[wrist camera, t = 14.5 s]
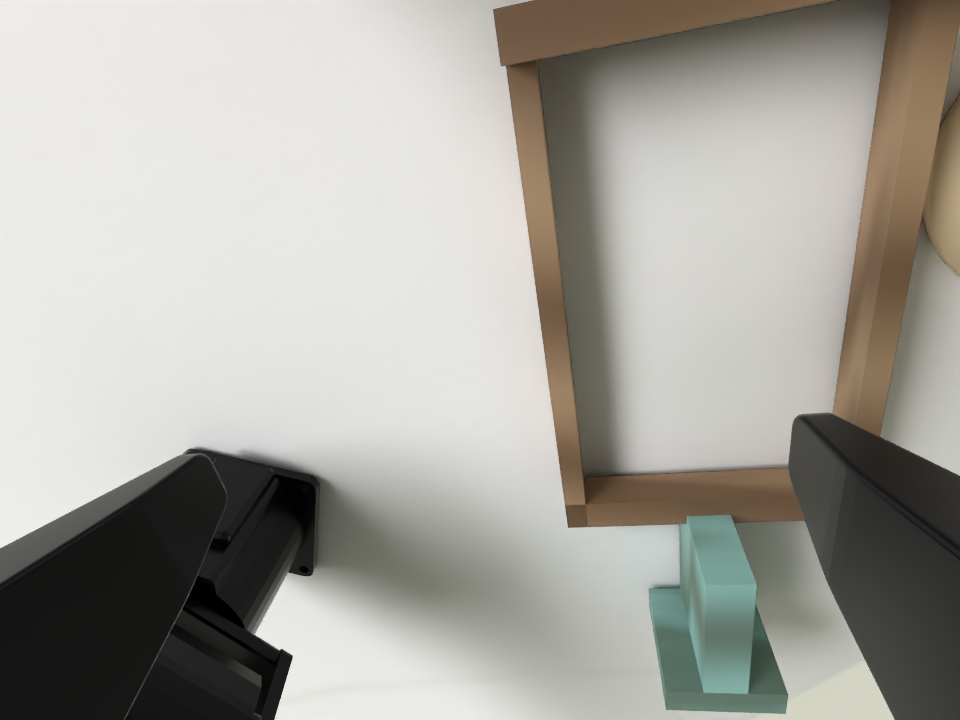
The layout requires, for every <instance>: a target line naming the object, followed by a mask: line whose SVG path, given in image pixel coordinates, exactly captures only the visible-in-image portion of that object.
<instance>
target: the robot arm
mask: <svg viewBox="0 0 960 720" xmlns="http://www.w3.org/2000/svg"><path fill="white" fill-rule="evenodd" d="M788 466H789V475H790V479H791V483H792V485H793V488H794V491H795V494H796V497H797V500H798V502H799V505H800V508H801V511H802V514H803V516H804V519H805V522H806V525H807V528H808V530H809V533H810V536H811V539H812V542H813V544H814V547H815V550H816V553H817V556H818V558H819V561H820V564H821V567H822V569H823V572H824V575H825V577H826V580H827V582H828V585H829V587H830V589H831V591H832V593H833V595H834V598H835V600H836V602H837V604H838V606H839V608H840V610H841V612H842V614H843V616H844V618H845V620H846V622H847V624H848V626H849V628H850V630H851V632H852V634H853V636H854V638H855V640H856V642H857V644H858V646H859V648H860V650H861V652H862V654H863V656H864V659H865V661H866V663H867V665H868V667H869V668H870V671H871V673H872V675H873V677H874V678H875V681H876V683H877V685H878V687H879V689H880V691H881V693H882V695H883V697H884V699H885V701H886V703H887V705H888V707H889V709H890V711H891V713H892V715H893V717H894V719H895V720H960V476H959V475H957V474H955V473H953V472H951V471H949V470H947V469H945V468H943V467H940V466H938V465H936V464H934V463H932V462H930V461H928V460H926V459H924V458H922V457H920V456H918V455H916V454H914V453H912V452H910V451H908V450H906V449H904V448H902V447H900V446H897V445H895V444H893V443H891V442H889V441H887V440H885V439H883V438H881V437H879V436H877V435H875V434H873V433H871V432H869V431H867V430H865V429H863V428H861V427H859V426H857V425H854V424H852V423H850V422H848V421H846V420H844V419H842V418H840V417H838V416H836V415H834V414H831V413H814V414H801V415H798V416H797V417H796V418H795V419H794V422H793V425H792V434H791V444H790V453H789V464H788ZM305 485H307V486H309V487H310V488H309V487H307V486H305ZM318 510H319V482H318V481H317V479H315V478H314V477H312V476H310V475H306V474H301V473H297V472H293V471H288V470H284V469H280V468H275V467H271V466H266V465H262V464H258V463H253V462H249V461H245V460H240V459H236V458H231V457H227V456H223V455H218V454H214V453H210V452H205V451H201V450H197V449H188V450H187V451H186V452H185V453H184V454H183V455H180V456H177V457H175V458H173V459H171V460H169V461H167V462H166V463H164V464H162V465H160V466H158V467H156V468H154V469H152V470H150V471H148V472H146V473H144V474H143V475H141V476H139V477H137V478H135V479H133V480H131V481H129V482H127V483H125V484H123V485H121V486H119V487H118V488H116V489H114V490H112V491H110V492H108V493H106V494H104V495H102V496H100V497H98V498H96V499H94V500H93V501H91V502H89V503H87V504H85V505H83V506H81V507H79V508H77V509H75V510H73V511H71V512H69V513H68V514H66V515H64V516H62V517H60V518H58V519H56V520H54V521H52V522H50V523H48V524H46V525H44V526H43V527H41V528H39V529H37V530H35V531H33V532H31V533H29V534H27V535H25V536H23V537H21V538H20V539H18V540H16V541H14V542H12V543H10V544H8V545H6V546H4V547H2V548H0V720H274V718H275V715H276V712H277V708H278V705H279V702H280V698H281V695H282V691H283V688H284V685H285V681H286V678H287V675H288V671H289V668H290V664H291V661H292V658H293V656H292V655H291V654H289V653H288V652H286V651H284V650H283V649H281V650H278V649H276V648H275V647H273V646H272V645H270V644H268V643H267V642H265V641H264V640H262V639H260V638H259V637H257V636H256V635H254V634H255V633H256V631H257V629H258V627H259V625H260V623H261V622H262V620H263V618H264V616H265V614H266V612H267V610H268V609H269V607H270V605H271V603H272V601H273V599H274V597H275V596H276V594H277V592H278V590H279V588H280V586H281V584H282V583H283V581H284V579H285V577H286V575H287V573H288V572H289V573H293V574H297V575H302V576H311V575H312V574H313V572H314V570H315V568H316V562H317V536H318Z"/></svg>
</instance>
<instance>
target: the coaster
mask: <svg viewBox="0 0 960 720" xmlns="http://www.w3.org/2000/svg"><path fill="white" fill-rule="evenodd" d="M923 218H924V222H925V226H926V230H927V234H928V236H929V238H930V240H931V242H932V245H933V247H934V249H935V250H936V252H937V253H938V255H939V256H940V257H941V259H942V260H943V261H944V263H945V264H946V265H947V266H949V267H950V268H951V269H952V270H953V271H954V272H955V273H956V274H957V275H959V276H960V94H959V96H958V97H957V99H956V100H955V102H954V104H953V105H952V107H951V109H950V110H949V112H948V113H947V115H946V117H945V119H944V121H943V123H942V125H941V127H940V129H939V131H938V136H937V141H936V146H935V152H934V157H933V162H932V167H931V172H930V177H929V183H928V188H927V193H926V198H925V203H924V209H923Z"/></svg>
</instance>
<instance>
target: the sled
mask: <svg viewBox="0 0 960 720" xmlns="http://www.w3.org/2000/svg"><path fill="white" fill-rule="evenodd" d="M834 1H839V0H533V1H529V2H524V3H520V4H515V5H511V6H506V7H502V8H497V9H493V12H494V19H495V26H496V34H497V41H498V48H499V55H500V63H501V66H506V69H507V77H508V84H509V92H510V99H511V106H512V114H513V121H514V129H515V136H516V144H517V151H518V158H519V166H520V173H521V181H522V188H523V196H524V203H525V211H526V218H527V225H528V233H529V240H530V248H531V255H532V263H533V270H534V278H535V285H536V292H537V300H538V307H539V315H540V322H541V330H542V337H543V344H544V352H545V359H546V367H547V374H548V382H549V389H550V397H551V404H552V411H553V419H554V426H555V434H556V441H557V449H558V456H559V464H560V471H561V478H562V486H563V493H564V501H565V508H566V516H567V523H568V528H572V527H605V526H638V525H671V524H679V531H680V588H674V589H649V606H650V612H651V618H652V624H653V631H654V637H655V643H656V649H657V655H658V662H659V668H660V674H661V680H662V686H663V693H664V699H665V705H666V710H689V711H719V712H749V713H779V714H780V713H781V714H785V713H786V707H787V700H788V693H787V690H786V688H785V685H784V682H783V679H782V676H781V674H780V671H779V668H778V665H777V662H776V660H775V657H774V654H773V651H772V649H771V646H770V643H769V640H768V637H767V635H766V632H765V629H764V626H763V623H762V621H761V618H760V615H759V612H758V610H757V607H756V604H755V603H756V590H757V583H756V581H755V578H754V575H753V573H752V570H751V567H750V565H749V562H748V559H747V557H746V554H745V551H744V549H743V546H742V543H741V541H740V538H739V535H738V533H737V530H736V527H735V525H734V523H737V522H770V521H803V520H805V519H804V516H803V514H802V511H801V508H800V505H799V502H798V500H797V497H796V494H795V491H794V488H793V485H792V483H791V479H790V475H789V468H777V469H756V470H735V471H715V472H694V473H673V474H652V475H631V476H610V477H589V478H584V472H583V463H582V454H581V445H580V436H579V427H578V418H577V409H576V400H575V391H574V382H573V373H572V364H571V355H570V345H569V336H568V327H567V318H566V309H565V300H564V291H563V282H562V273H561V264H560V255H559V246H558V237H557V228H556V219H555V210H554V201H553V192H552V183H551V173H550V164H549V155H548V146H547V137H546V128H545V119H544V110H543V101H542V92H541V83H540V74H539V65H538V60H543V59H548V58H553V57H558V56H563V55H568V54H573V53H578V52H583V51H588V50H593V49H598V48H603V47H608V46H614V45H619V44H624V43H629V42H634V41H639V40H644V39H649V38H654V37H659V36H664V35H669V34H674V33H679V32H684V31H689V30H694V29H699V28H704V27H709V26H714V25H719V24H724V23H729V22H734V21H739V20H744V19H749V18H754V17H759V16H764V15H769V14H774V13H779V12H784V11H789V10H794V9H799V8H804V7H809V6H814V5H819V4H824V3H829V2H834ZM959 22H960V0H891V7H890V14H889V21H888V28H887V35H886V42H885V49H884V56H883V63H882V70H881V77H880V84H879V91H878V98H877V105H876V112H875V119H874V126H873V133H872V140H871V147H870V154H869V161H868V168H867V175H866V182H865V189H864V197H863V204H862V211H861V218H860V225H859V232H858V239H857V246H856V253H855V260H854V267H853V274H852V281H851V288H850V295H849V302H848V309H847V316H846V323H845V330H844V337H843V344H842V351H841V358H840V365H839V372H838V379H837V386H836V393H835V400H834V407H833V414H834V415H836V416H838V417H840V418H842V419H844V420H846V421H848V422H850V423H852V424H854V425H857V426H859V427H861V428H863V429H865V430H867V431H869V432H871V433H873V434H875V435H877V436H879V437H880V431H881V426H882V421H883V416H884V411H885V405H886V400H887V395H888V390H889V385H890V380H891V374H892V369H893V364H894V359H895V354H896V348H897V343H898V338H899V333H900V328H901V323H902V317H903V312H904V307H905V302H906V297H907V291H908V286H909V281H910V276H911V271H912V266H913V260H914V255H915V250H916V245H917V240H918V234H919V229H920V224H921V219H922V214H923V209H924V203H925V198H926V193H927V188H928V183H929V177H930V172H931V167H932V162H933V157H934V152H935V146H936V141H937V136H938V131H939V126H940V120H941V115H942V110H943V105H944V100H945V95H946V89H947V84H948V79H949V74H950V69H951V63H952V58H953V53H954V48H955V43H956V38H957V32H958V27H959Z"/></svg>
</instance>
